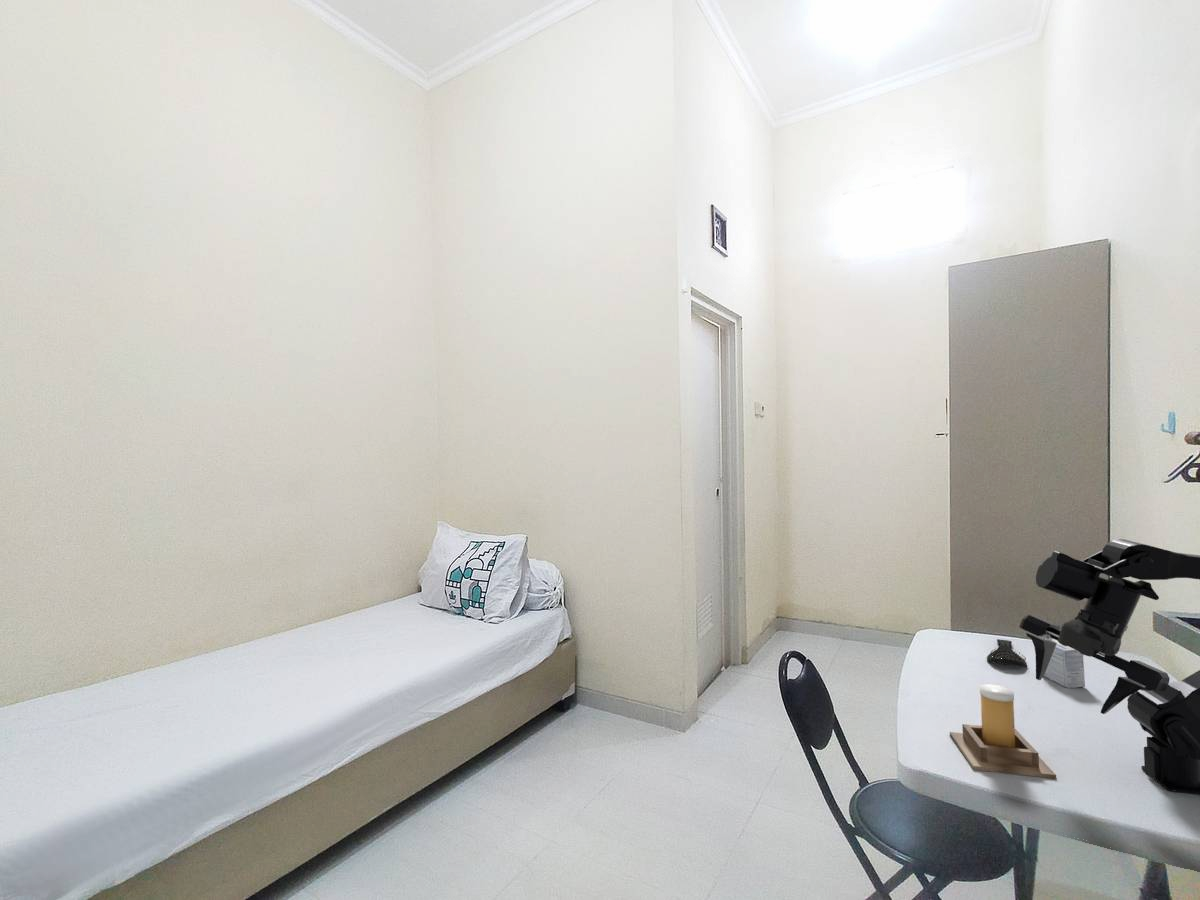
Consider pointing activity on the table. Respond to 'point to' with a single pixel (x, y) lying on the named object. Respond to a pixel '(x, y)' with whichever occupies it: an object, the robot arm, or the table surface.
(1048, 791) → the table surface
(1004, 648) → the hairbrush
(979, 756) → the bottle holder
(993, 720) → the pill bottle
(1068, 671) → the medicine box
